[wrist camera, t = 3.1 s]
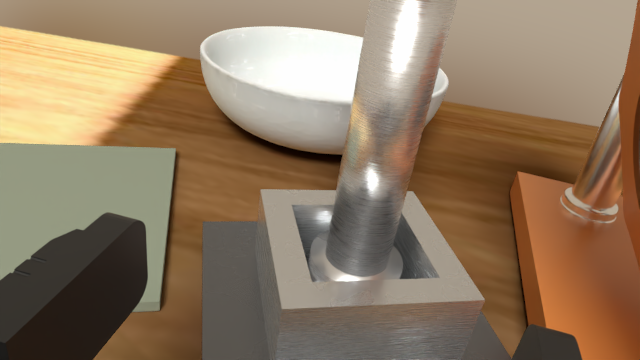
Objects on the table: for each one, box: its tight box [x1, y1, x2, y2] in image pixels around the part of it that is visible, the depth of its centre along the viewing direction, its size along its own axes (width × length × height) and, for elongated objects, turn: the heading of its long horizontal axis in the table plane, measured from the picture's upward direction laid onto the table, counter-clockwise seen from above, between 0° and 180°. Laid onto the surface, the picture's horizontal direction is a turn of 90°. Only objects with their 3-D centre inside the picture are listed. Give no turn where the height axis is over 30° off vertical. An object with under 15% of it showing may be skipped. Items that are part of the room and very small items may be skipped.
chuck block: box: [202, 189, 512, 360], centre depth 24 cm, size 14×14×5 cm
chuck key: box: [308, 0, 457, 282], centre depth 20 cm, size 7×4×18 cm, turn 11°
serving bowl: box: [200, 26, 449, 155], centre depth 44 cm, size 21×21×7 cm
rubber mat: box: [0, 143, 176, 312], centre depth 29 cm, size 16×16×1 cm
